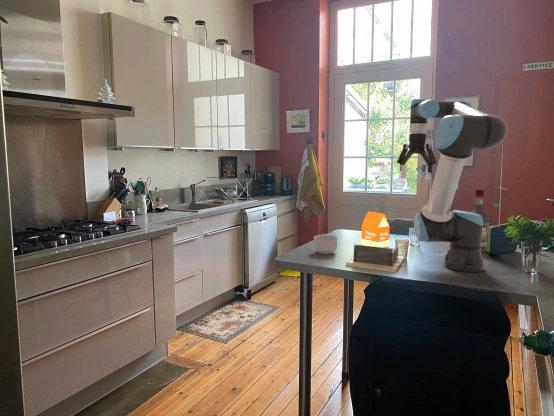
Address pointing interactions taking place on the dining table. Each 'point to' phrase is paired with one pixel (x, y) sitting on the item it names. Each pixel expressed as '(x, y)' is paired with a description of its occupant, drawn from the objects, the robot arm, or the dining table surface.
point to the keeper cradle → (376, 258)
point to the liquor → (479, 210)
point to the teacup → (325, 243)
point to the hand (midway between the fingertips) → (415, 179)
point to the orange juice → (375, 230)
